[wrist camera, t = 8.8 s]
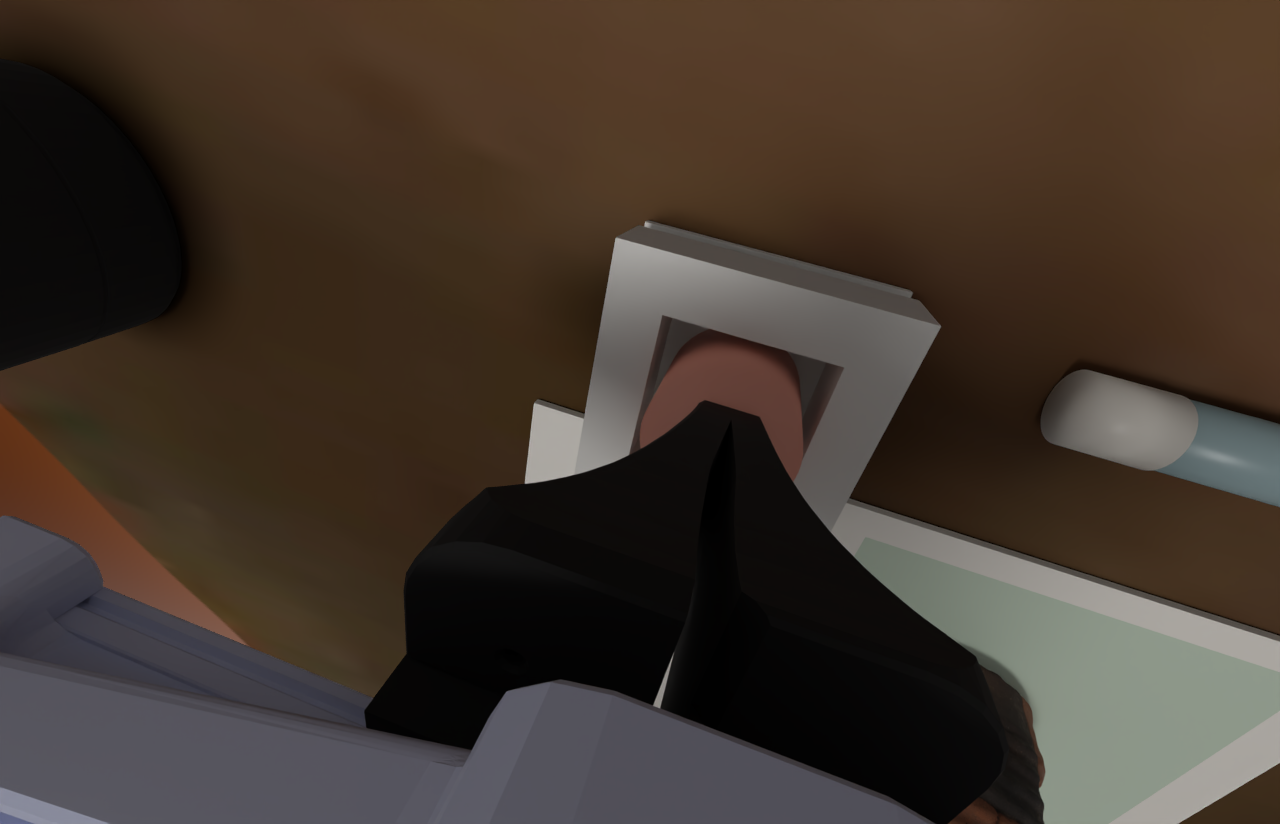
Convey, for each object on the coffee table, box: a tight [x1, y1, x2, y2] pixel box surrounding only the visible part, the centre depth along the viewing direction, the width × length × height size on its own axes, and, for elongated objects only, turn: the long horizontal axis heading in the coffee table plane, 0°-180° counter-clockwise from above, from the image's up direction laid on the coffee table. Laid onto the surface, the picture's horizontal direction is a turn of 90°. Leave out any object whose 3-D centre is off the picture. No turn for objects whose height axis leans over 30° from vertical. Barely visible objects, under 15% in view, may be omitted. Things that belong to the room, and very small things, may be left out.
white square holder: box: [574, 220, 941, 532], centre depth 14 cm, size 7×7×3 cm
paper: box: [525, 399, 1280, 824], centre depth 20 cm, size 16×26×1 cm, turn 78°
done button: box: [640, 329, 803, 481], centre depth 13 cm, size 4×4×3 cm
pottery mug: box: [948, 665, 1045, 824], centre depth 17 cm, size 12×10×8 cm
